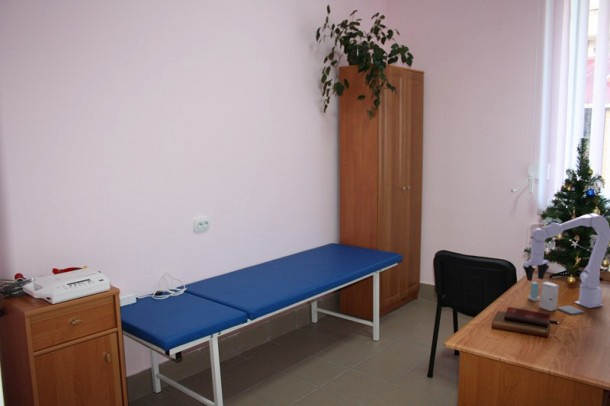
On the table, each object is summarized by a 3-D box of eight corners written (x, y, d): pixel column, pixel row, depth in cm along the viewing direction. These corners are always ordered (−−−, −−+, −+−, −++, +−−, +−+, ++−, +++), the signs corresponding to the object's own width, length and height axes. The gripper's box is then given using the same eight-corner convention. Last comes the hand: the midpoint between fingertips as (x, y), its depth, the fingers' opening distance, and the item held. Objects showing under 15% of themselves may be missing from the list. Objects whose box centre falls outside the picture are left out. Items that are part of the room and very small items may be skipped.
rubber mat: (569, 306, 221) (569, 305, 220) (584, 312, 213) (584, 311, 213) (556, 309, 218) (556, 307, 218) (571, 315, 210) (572, 313, 210)
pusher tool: (533, 297, 234) (534, 281, 232) (540, 300, 230) (541, 283, 229) (527, 298, 232) (528, 282, 231) (534, 301, 228) (535, 284, 227)
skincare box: (539, 307, 220) (540, 282, 218) (544, 305, 222) (546, 281, 221) (551, 311, 215) (553, 286, 213) (557, 309, 217) (559, 284, 215)
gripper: (541, 249, 234) (538, 275, 236) (519, 252, 228) (517, 278, 230) (553, 253, 227) (550, 279, 229) (531, 255, 222) (529, 282, 224)
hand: (534, 279), depth 229 cm, fingers open, 7 cm apart
